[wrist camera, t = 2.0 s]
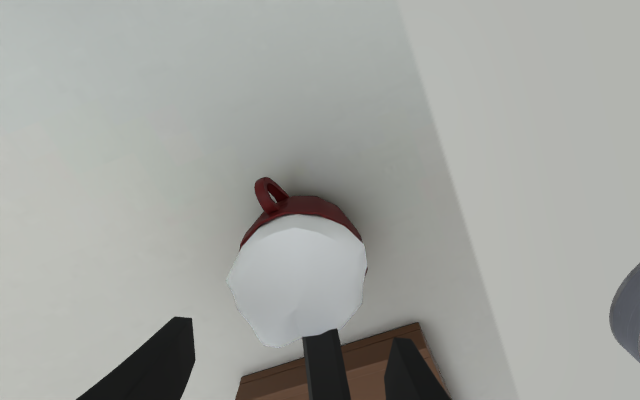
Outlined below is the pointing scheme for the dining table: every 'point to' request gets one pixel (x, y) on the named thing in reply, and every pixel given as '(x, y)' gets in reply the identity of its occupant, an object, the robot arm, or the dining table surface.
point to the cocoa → (301, 281)
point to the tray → (360, 364)
